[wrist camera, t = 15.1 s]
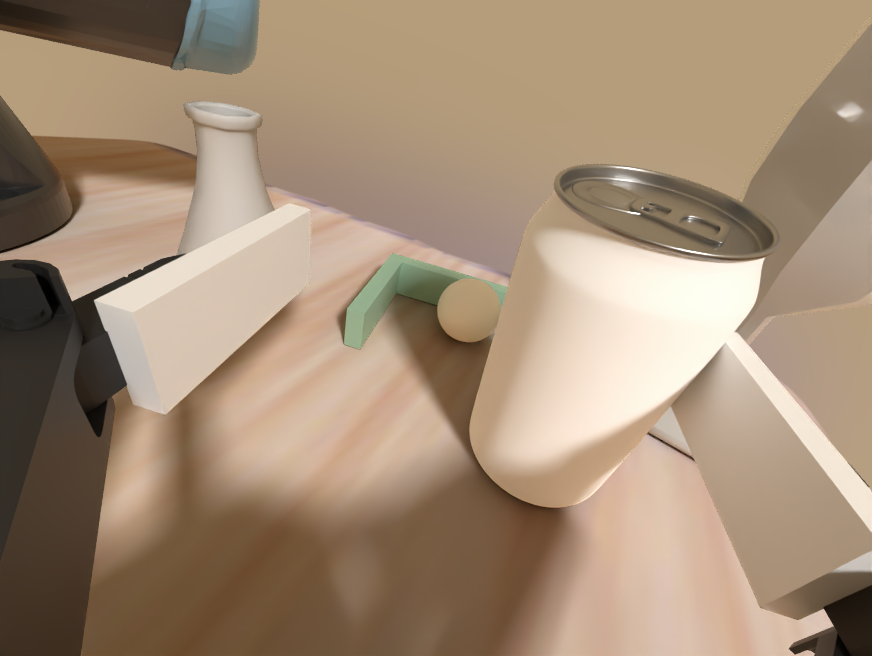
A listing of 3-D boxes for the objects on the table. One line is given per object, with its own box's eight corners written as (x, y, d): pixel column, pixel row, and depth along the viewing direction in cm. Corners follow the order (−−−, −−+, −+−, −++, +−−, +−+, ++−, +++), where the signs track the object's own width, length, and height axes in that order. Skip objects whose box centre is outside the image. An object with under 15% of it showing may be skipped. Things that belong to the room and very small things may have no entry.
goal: (564, 413, 21) (584, 381, 19) (343, 344, 21) (347, 308, 20) (556, 334, 27) (570, 305, 26) (387, 283, 28) (392, 253, 26)
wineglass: (770, 433, 23) (1277, -10, 11) (722, 499, 18) (1553, -177, 6) (644, 348, 28) (898, -19, 16) (579, 382, 23) (878, -114, 11)
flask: (143, 287, 22) (88, 88, 16) (236, 247, 28) (220, 91, 22) (249, 330, 21) (230, 134, 15) (322, 279, 27) (328, 124, 21)
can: (512, 371, 21) (593, 147, 13) (622, 442, 18) (808, 212, 10) (439, 443, 17) (493, 187, 9) (565, 548, 14) (796, 309, 7)
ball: (422, 320, 25) (425, 287, 22) (467, 290, 26) (476, 254, 23) (461, 364, 24) (471, 336, 20) (505, 330, 25) (522, 299, 22)
